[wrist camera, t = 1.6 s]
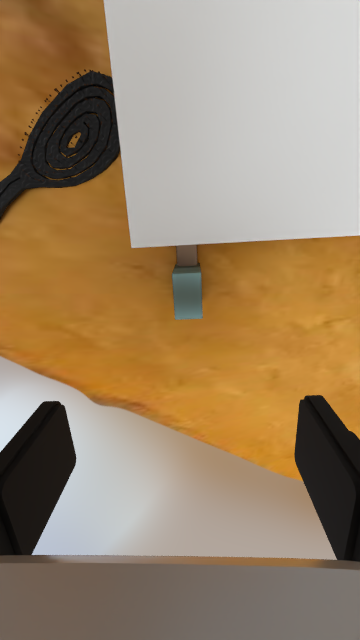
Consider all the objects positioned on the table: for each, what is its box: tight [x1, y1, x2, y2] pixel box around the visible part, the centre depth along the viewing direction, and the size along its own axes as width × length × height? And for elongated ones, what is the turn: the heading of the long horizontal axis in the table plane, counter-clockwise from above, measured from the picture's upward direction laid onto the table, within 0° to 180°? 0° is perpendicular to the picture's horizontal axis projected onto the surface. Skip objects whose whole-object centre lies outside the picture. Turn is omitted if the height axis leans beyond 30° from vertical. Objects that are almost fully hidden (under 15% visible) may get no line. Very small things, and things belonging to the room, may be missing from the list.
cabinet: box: [104, 0, 360, 248], centre depth 24 cm, size 14×17×16 cm
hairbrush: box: [0, 69, 120, 218], centre depth 31 cm, size 8×4×25 cm
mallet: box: [172, 244, 203, 320], centre depth 30 cm, size 19×3×7 cm, turn 3°
